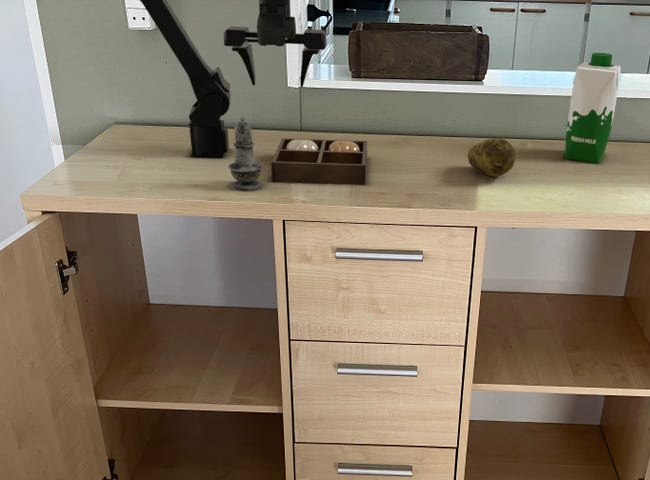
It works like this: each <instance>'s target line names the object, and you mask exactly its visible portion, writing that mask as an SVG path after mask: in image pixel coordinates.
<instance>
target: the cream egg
mask: <svg viewBox="0 0 650 480" xmlns="http://www.w3.org/2000/svg"><path fill="white" fill-rule="evenodd" d="M286 150H315V151H319V149H318V146H317V145H316V144H315V143H314V142H313V141H310V140H292V141H291V142H289V143H288V145H287V147H286Z"/></svg>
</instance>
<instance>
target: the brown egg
mask: <svg viewBox="0 0 650 480" xmlns="http://www.w3.org/2000/svg"><path fill="white" fill-rule="evenodd" d="M351 141H352V140H351ZM351 141H335V142H333V143H332V144H331V145H330V146H329V148H328V151H346V152H360V148H359V146H358V145H357V144H356V143H354V142H351Z"/></svg>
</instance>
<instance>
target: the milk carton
mask: <svg viewBox="0 0 650 480" xmlns="http://www.w3.org/2000/svg"><path fill="white" fill-rule="evenodd" d="M612 61H613V54H611V53H605V52H593V53H591V58H590V62H582V63H581V64H579V65H578V66H577V67H576V69H575V74H574V77H573V82H572V91H571V95H570V96H571V97H570V103H569V109H568V117H567V122H566V131H565V147H564V159H565V160H570V161H571V160H572V161H579V162H586V163H594V164H599V163H600V161H601V160H602V158H603V157H604V155H605V151H606V148H607V145H608V143H609V140H610V137H611V132H612V126H613V121H614V115H615V111H616V104H617V99H618V94H619V85H620V79H621V70H622V66H621V65H615V64H612Z"/></svg>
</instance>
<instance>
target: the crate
mask: <svg viewBox="0 0 650 480" xmlns="http://www.w3.org/2000/svg"><path fill="white" fill-rule="evenodd" d="M292 140H310V141H313V142H314V143H315V144H316V145H317V146H318V149H319V151H315V150H286V147H287V145H288V143H289V142H291V141H292ZM335 141H351V142H354V143H356V144H357V145H358V146H359V148H360V152H346V151H328V148H329V146H330V145H331V144H332V143H333V142H335ZM367 162H368V141H367V140H350V139H349V140H347V139H317V138H290V137H289V138H285V137H282V138H281V139H280V141H279V144H278V146H277V149H276V151H275V153H274V155H273V158H272V160H271V162H270V169H271V182H273V183H274V182H275V183H302V184H303V183H307V184H339V185H366V179H367V164H368V163H367Z"/></svg>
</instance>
